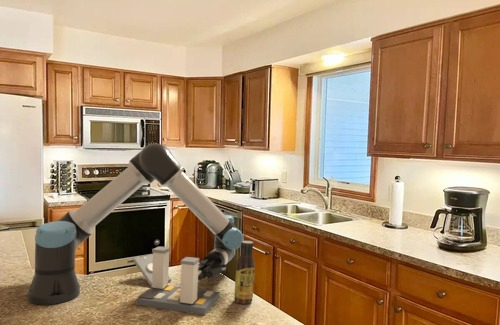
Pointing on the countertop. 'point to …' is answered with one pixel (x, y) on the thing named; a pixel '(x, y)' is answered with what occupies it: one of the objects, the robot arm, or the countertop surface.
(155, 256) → the slider
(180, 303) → the console
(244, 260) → the sauce bottle
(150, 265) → the gray dial box
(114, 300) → the countertop surface
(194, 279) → the slider
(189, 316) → the countertop surface
